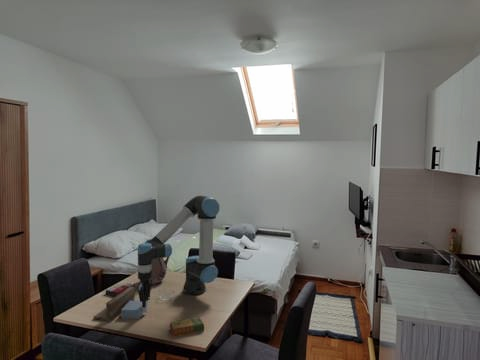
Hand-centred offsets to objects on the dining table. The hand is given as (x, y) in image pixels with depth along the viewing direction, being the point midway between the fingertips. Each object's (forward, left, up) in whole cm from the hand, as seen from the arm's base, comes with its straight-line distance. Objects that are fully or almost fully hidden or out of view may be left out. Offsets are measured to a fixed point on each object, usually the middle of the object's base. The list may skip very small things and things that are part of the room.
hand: (145, 311), depth 186 cm
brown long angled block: (+19, 0, -1) cm, 19 cm away
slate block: (+7, 0, -2) cm, 7 cm away
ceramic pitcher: (+18, -49, -2) cm, 52 cm away
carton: (-29, +11, -2) cm, 31 cm away
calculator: (+32, -26, -2) cm, 41 cm away
